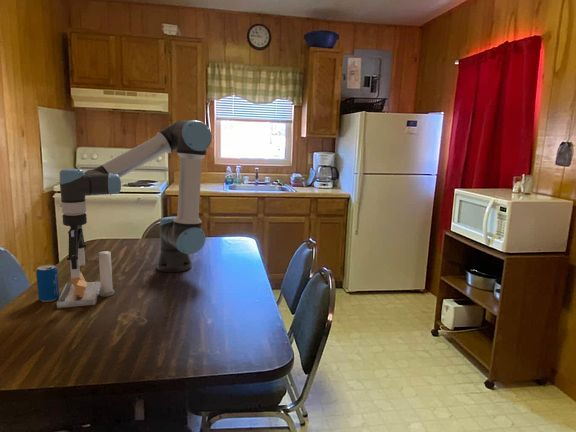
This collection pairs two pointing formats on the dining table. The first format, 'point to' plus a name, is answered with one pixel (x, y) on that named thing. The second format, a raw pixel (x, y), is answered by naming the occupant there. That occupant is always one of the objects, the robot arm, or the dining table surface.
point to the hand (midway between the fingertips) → (78, 271)
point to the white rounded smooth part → (105, 274)
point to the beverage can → (47, 283)
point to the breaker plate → (87, 299)
